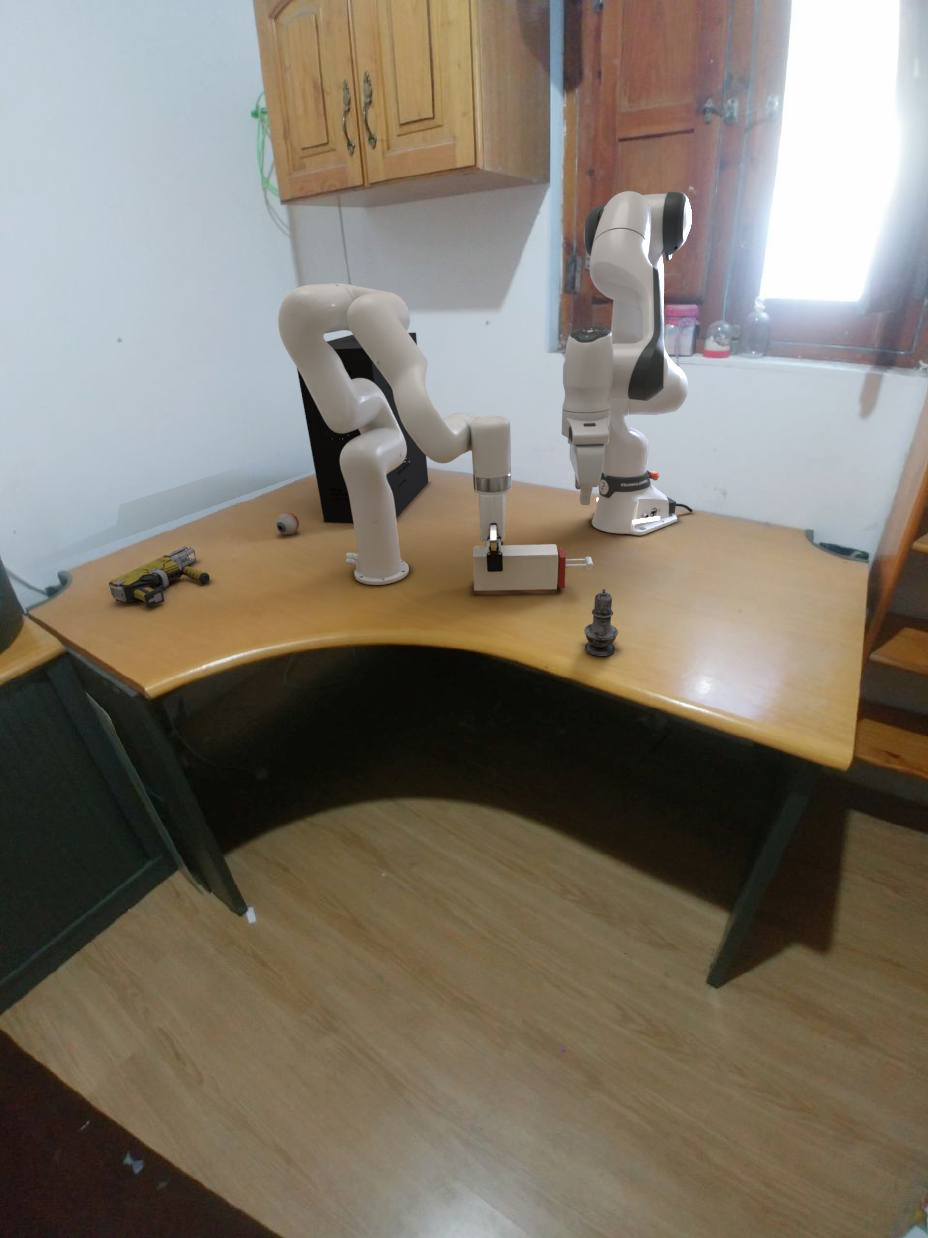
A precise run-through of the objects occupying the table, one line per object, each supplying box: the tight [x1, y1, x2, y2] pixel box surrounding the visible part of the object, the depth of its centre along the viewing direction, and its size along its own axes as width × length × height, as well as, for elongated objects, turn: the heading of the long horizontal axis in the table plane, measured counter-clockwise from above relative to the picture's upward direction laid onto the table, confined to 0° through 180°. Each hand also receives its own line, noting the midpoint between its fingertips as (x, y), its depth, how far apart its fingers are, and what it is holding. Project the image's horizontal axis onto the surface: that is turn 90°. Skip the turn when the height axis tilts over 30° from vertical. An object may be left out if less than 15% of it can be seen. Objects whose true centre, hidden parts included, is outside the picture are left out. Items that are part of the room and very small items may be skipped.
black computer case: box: [296, 332, 429, 523], centre depth 175 cm, size 38×20×45 cm, turn 167°
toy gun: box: [108, 545, 211, 609], centre depth 140 cm, size 5×24×15 cm
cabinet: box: [472, 543, 558, 596], centre depth 128 cm, size 18×6×9 cm, turn 87°
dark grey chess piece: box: [583, 588, 619, 657], centre depth 105 cm, size 6×6×12 cm
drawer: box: [557, 548, 595, 589], centre depth 128 cm, size 22×4×7 cm, turn 87°
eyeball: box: [275, 511, 300, 536], centre depth 163 cm, size 6×6×6 cm
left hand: (495, 561), depth 128 cm, fingers open, 9 cm apart
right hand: (582, 495), depth 119 cm, fingers open, 8 cm apart
